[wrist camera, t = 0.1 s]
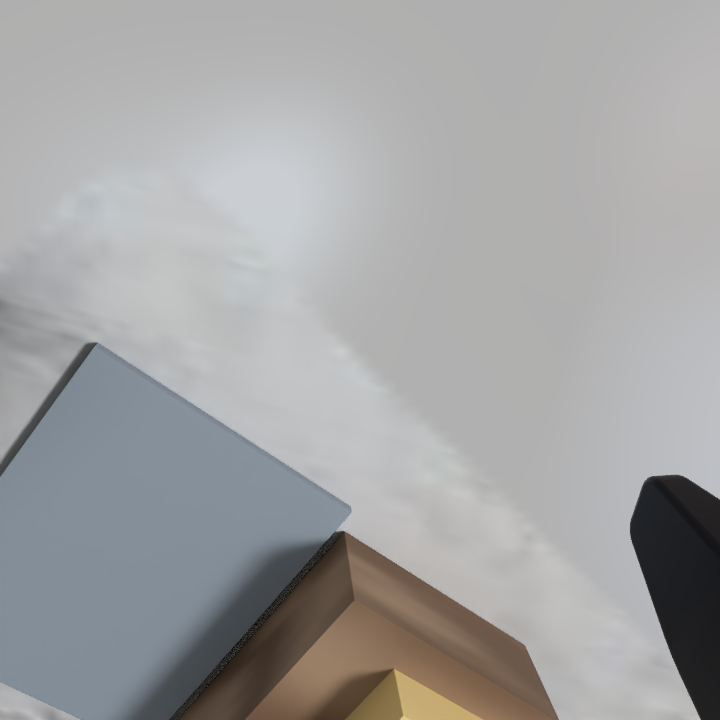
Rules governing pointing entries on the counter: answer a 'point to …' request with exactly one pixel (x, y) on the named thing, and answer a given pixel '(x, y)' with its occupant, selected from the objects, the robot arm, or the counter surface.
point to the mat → (141, 545)
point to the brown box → (370, 649)
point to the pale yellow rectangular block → (407, 702)
